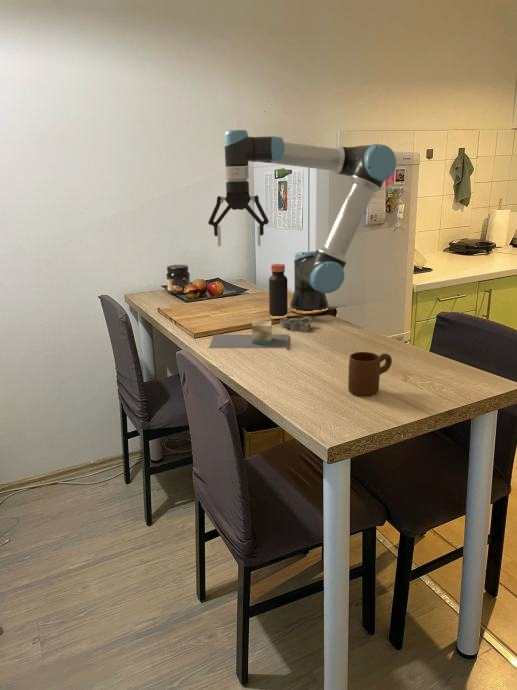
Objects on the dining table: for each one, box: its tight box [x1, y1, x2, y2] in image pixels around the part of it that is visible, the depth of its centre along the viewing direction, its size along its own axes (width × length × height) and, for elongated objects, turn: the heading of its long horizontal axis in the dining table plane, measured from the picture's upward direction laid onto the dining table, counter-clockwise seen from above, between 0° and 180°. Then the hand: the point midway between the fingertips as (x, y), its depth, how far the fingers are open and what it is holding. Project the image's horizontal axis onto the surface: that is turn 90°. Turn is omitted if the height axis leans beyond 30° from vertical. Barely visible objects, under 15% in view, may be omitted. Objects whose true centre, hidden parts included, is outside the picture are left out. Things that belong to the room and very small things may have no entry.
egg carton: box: [278, 315, 313, 332], centre depth 191 cm, size 11×8×4 cm
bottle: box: [268, 263, 289, 316], centre depth 201 cm, size 7×7×20 cm
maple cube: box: [251, 320, 273, 344], centre depth 175 cm, size 6×6×6 cm
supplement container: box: [166, 264, 191, 295], centre depth 247 cm, size 10×10×12 cm
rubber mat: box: [208, 333, 289, 351], centre depth 176 cm, size 25×14×1 cm, turn 87°
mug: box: [347, 351, 393, 397], centre depth 136 cm, size 12×8×9 cm, turn 115°
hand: (239, 245), depth 185 cm, fingers open, 13 cm apart
